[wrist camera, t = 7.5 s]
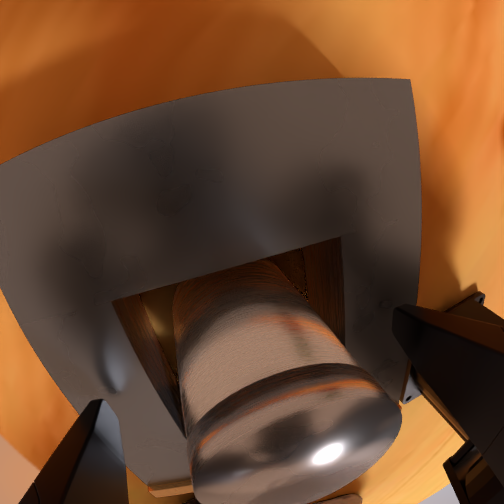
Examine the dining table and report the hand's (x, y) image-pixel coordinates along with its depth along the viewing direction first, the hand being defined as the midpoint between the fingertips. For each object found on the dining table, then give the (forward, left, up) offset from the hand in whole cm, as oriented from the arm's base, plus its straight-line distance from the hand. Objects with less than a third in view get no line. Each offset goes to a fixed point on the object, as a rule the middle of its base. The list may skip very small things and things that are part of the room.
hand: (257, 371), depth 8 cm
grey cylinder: (0, 0, -4) cm, 4 cm away
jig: (0, 0, -4) cm, 4 cm away
